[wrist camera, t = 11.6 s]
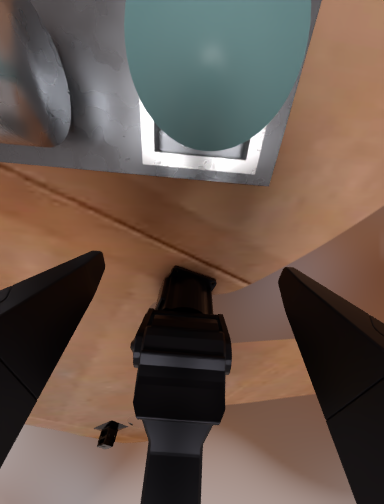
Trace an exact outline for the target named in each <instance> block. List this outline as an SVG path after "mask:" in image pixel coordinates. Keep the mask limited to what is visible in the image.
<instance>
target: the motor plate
mask: <svg viewBox="0 0 384 504" xmlns="http://www.w3.org/2000/svg"><path fill="white" fill-rule="evenodd" d="M321 1H322V0H311V21H310V30H309V37H308V43H307V47H306V51H305V56H304V59H303V62H302V65H301V69H300V72H299V74H298V77H297V79H296V81H295V84H294V86H293V88H292V90H291V92H290V94H289V96H288V97H287V99H286V101H285V103H284V104H283V106H282V107H281V109H280V110H279V111H278V113H277V114H276V115H275V116H274V118H273V119H272V120H271V121H270V122H269V123H268V124H267V125H266V126H265V127H264V128H263V129H262V130H261V131H260V132H259V133H257V134H256V135H255V136H254V137H252V138H251V139H249V140H247V141H246V142H244V143H242V144H240V145H238V146H235V147H233V148H229V149H226V150H221V151H201V150H195V149H192V148H189V147H186V146H184V145H182V144H180V143H178V142H176V141H175V140H173V139H172V138H170V137H169V136H168V135H167V134H165V133H164V132H163V131H162V130H161V129H160V128H159V127H158V126H157V125H156V123H155V122H154V121H153V120H152V118H151V117H150V115H149V114H148V113H147V111H146V109H145V108H144V106H143V104H142V102H141V100H140V98H139V96H138V94H137V91H136V89H135V86H134V83H133V80H132V77H131V74H130V70H129V65H128V60H127V55H126V46H125V32H124V18H125V3H126V0H0V162H8V163H19V164H30V165H41V166H52V167H63V168H74V169H85V170H96V171H107V172H117V173H128V174H139V175H150V176H161V177H172V178H183V179H194V180H205V181H216V182H227V183H238V184H249V185H260V186H269V184H270V180H271V177H272V173H273V170H274V166H275V163H276V159H277V156H278V152H279V149H280V145H281V142H282V138H283V135H284V131H285V128H286V124H287V121H288V117H289V114H290V110H291V107H292V103H293V100H294V96H295V93H296V89H297V85H298V82H299V78H300V75H301V71H302V68H303V64H304V61H305V57H306V54H307V50H308V47H309V43H310V40H311V36H312V33H313V29H314V26H315V22H316V19H317V15H318V12H319V8H320V5H321Z"/></svg>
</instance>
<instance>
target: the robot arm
mask: <svg viewBox="0 0 384 504" xmlns="http://www.w3.org/2000/svg"><path fill="white" fill-rule="evenodd" d="M175 269H177V271H176V270H175ZM104 270H105V262H104V257H103V253H102V252H101V251H91V252H88V253H86V254H84V255H81V256H79V257H77V258H74V259H72V260H70V261H67V262H65V263H63V264H60V265H58V266H56V267H54V268H51V269H49V270H47V271H44V272H42V273H40V274H37V275H35V276H33V277H30V278H28V279H26V280H24V281H21V282H19V283H17V284H14V285H13V286H10V287H7V288H5V289H3V290H0V468H1V466H2V464H3V462H4V460H5V459H6V457H7V455H8V453H9V451H10V449H11V448H12V446H13V444H14V442H15V440H16V438H17V437H18V435H19V433H20V431H21V429H22V427H23V425H24V424H25V422H26V420H27V418H28V416H29V415H30V413H31V411H32V409H33V407H34V405H35V404H36V402H37V399H38V398H39V396H40V394H41V392H42V390H43V389H44V387H45V385H46V383H47V381H48V379H49V378H50V376H51V374H52V372H53V370H54V368H55V367H56V365H57V363H58V361H59V359H60V357H61V356H62V354H63V352H64V350H65V348H66V346H67V345H68V343H69V341H70V339H71V337H72V335H73V334H74V332H75V330H76V328H77V326H78V324H79V323H80V321H81V319H82V317H83V315H84V313H85V312H86V310H87V308H88V306H89V304H90V302H91V301H92V299H93V297H94V295H95V292H96V290H97V287H98V285H99V282H100V280H101V277H102V275H103V273H104ZM212 282H214V283H212ZM278 284H279V288H280V292H281V297H282V301H283V305H284V308H285V312H286V315H287V317H288V320H289V323H290V325H291V328H292V331H293V334H294V336H295V339H296V342H297V344H298V347H299V350H300V352H301V355H302V358H303V360H304V363H305V366H306V368H307V371H308V374H309V377H310V379H311V382H312V385H313V387H314V390H315V393H316V395H317V398H318V401H319V403H320V406H321V408H322V411H323V414H324V416H325V419H326V420H327V421H326V422H327V425H328V428H329V431H330V433H331V436H332V439H333V441H334V444H335V447H336V449H337V452H338V455H339V457H340V460H341V463H342V466H343V468H344V471H345V474H346V476H347V479H348V482H349V484H350V487H351V490H352V492H353V495H354V498H355V500H356V503H357V504H384V323H382V322H381V321H379V320H377V319H376V318H374V317H373V316H370V315H369V314H368V313H366V312H364V311H363V310H361V309H360V308H358V307H356V306H355V305H353V304H351V303H350V302H348V301H347V300H345V299H343V298H342V297H340V296H338V295H337V294H335V293H334V292H332V291H331V290H329V289H327V288H326V287H324V286H323V285H321V284H319V283H318V282H316V281H314V280H313V279H311V278H310V277H308V276H306V275H305V274H303V273H302V272H300V271H298V270H297V269H295V268H293V267H285V268H284V269H283V271H282V273H281V276H280V278H279V281H278ZM215 286H216V280H215V279H212V278H209V277H207V276H204V275H201V274H198V273H195V272H192V271H190V270H187V269H184V268H181V267H178V266H174V267H173V269H172V271H171V273H170V275H169V277H166V278H165V280H164V282H163V284H162V286H161V289H160V292H159V296H158V300H157V304H156V308H155V310H154V309H153V308H149V310H148V312H147V313H146V314H145V316H144V319H143V321H142V323H141V325H140V327H139V329H138V331H137V334H136V336H135V338H134V340H133V341H132V342H131V347H130V348H131V350H132V351H133V365H134V367H135V368H138V371H137V378H136V385H135V392H134V399H133V405H134V410H135V414H136V418H137V419H141V420H142V421H143V424H144V428H145V431H146V434H147V437H148V441H149V443H148V452H147V459H146V467H145V474H144V482H143V490H142V497H141V504H201V478H202V451H203V443H204V441H205V439H206V437H207V436H208V434H209V432H210V430H211V428H212V426H213V425H219V424H220V422H221V419H222V417H223V414H224V412H225V375H229V373H230V370H231V362H232V349H231V341H230V336H229V333H228V330H227V326H226V323H225V320H224V317H223V314H218V315H214V314H213V305H212V293H211V292H212V290H213V289H214V287H215Z"/></svg>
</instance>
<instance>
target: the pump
mask: <svg viewBox="0 0 384 504" xmlns="http://www.w3.org/2000/svg"><path fill="white" fill-rule="evenodd" d="M310 21H311V0H126V3H125V18H124V32H125V46H126V55H127V60H128V65H129V70H130V74H131V77H132V80H133V83H134V86H135V89H136V91H137V94H138V96H139V98H140V100H141V102H142V104H143V106H144V108H145V109H146V111H147V113H148V114H149V115H150V117H151V118H152V120H153V121H154V122H155V123H156V125H157V126H158V127H159V128H160V129H161V130H162V131H163V132H164V133H165V134H167V135H168V136H169V137H170V138H172V139H173V140H175V141H176V142H178V143H180V144H182V145H184V146H186V147H189V148H192V149H195V150H201V151H221V150H226V149H229V148H233V147H235V146H238V145H240V144H242V143H244V142H246V141H247V140H249V139H251V138H252V137H254V136H255V135H256V134H257V133H259V132H260V131H261V130H262V129H263V128H264V127H265V126H266V125H267V124H268V123H269V122H270V121H271V120H272V119H273V118H274V116H275V115H276V114H277V113H278V111H279V110H280V109H281V107H282V106H283V104H284V103H285V101H286V99H287V97H288V96H289V94H290V92H291V90H292V88H293V86H294V84H295V81H296V79H297V77H298V74H299V72H300V69H301V65H302V62H303V59H304V56H305V51H306V47H307V43H308V37H309V30H310Z"/></svg>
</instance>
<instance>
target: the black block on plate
mask: <svg viewBox="0 0 384 504" xmlns="http://www.w3.org/2000/svg"><path fill="white" fill-rule="evenodd" d="M128 423H129V422H128ZM129 424H130V425H132V426H133V424H132V423H129ZM126 427H128V426H125V425H123V424H120V423H117V422H115V421H109V422H107V423H105V424H102V425H100V426H98V427H96V428H94V429H97V430H100V431H101V434H100V437H99V440H98V445H97V447H100V448H103V449H108V448H111V447H112V446H113V444H114V442H115V439H116V435H117V432H118V430H121V429H123V428H126ZM114 435H115V437H114ZM101 436H102V437H101Z"/></svg>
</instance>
